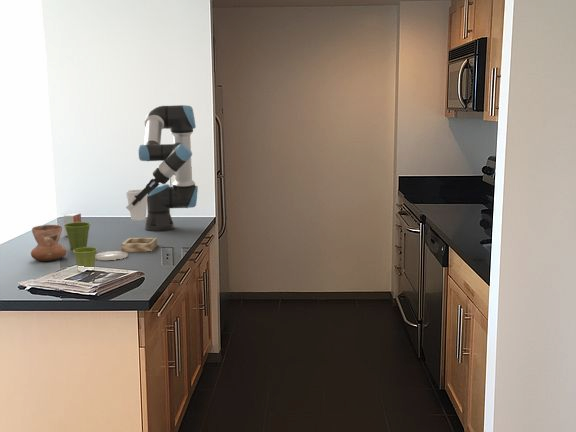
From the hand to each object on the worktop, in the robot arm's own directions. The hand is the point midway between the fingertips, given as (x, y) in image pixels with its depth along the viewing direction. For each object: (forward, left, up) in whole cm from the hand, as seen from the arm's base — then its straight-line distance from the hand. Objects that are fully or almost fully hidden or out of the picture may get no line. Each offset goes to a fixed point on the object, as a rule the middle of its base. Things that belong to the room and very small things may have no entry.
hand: (131, 207), depth 306 cm
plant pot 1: (+21, -14, -19) cm, 32 cm away
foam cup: (-3, +2, -6) cm, 6 cm away
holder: (-3, +2, -19) cm, 19 cm away
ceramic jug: (+37, +1, -19) cm, 42 cm away
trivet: (+13, +12, -19) cm, 26 cm away
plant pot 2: (+28, +30, -19) cm, 45 cm away
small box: (+16, -48, -19) cm, 55 cm away
